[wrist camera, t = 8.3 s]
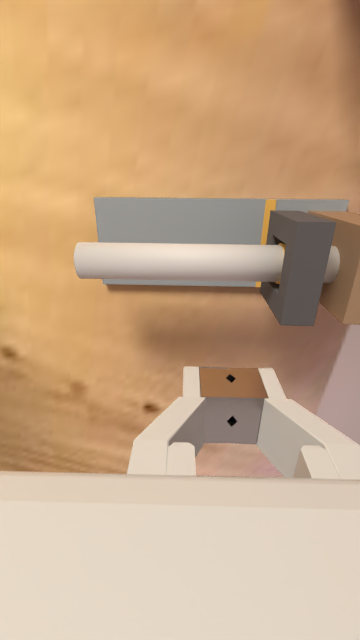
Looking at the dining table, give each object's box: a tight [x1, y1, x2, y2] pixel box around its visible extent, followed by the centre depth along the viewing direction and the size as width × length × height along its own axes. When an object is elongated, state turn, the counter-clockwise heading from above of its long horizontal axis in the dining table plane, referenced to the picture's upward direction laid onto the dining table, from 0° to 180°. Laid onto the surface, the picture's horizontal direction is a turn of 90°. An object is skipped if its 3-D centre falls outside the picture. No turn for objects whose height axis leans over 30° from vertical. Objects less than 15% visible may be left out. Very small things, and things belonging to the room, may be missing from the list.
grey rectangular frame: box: [260, 210, 337, 326], centre depth 25 cm, size 2×8×8 cm, turn 0°
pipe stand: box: [74, 197, 360, 324], centre depth 27 cm, size 25×9×12 cm, turn 89°
